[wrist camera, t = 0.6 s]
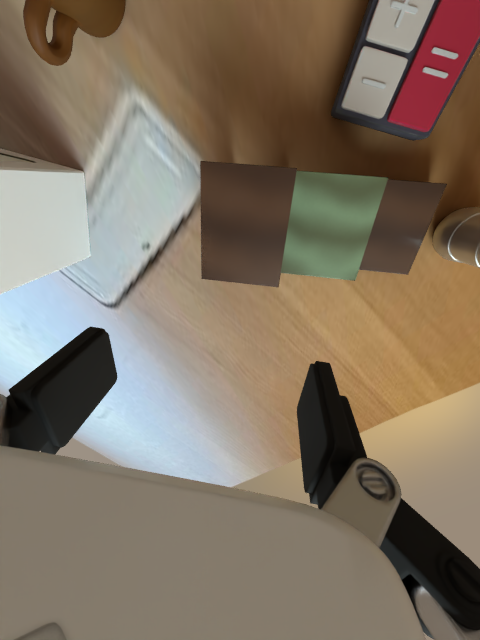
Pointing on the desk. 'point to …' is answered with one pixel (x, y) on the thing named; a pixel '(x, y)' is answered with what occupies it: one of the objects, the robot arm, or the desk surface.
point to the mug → (69, 24)
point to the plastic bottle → (459, 236)
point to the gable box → (39, 219)
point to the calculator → (407, 64)
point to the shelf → (308, 223)
